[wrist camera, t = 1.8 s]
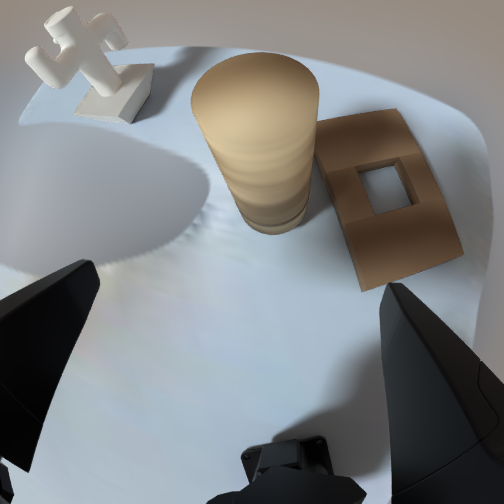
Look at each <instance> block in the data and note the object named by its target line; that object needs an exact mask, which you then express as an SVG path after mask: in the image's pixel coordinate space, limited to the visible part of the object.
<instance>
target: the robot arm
mask: <svg viewBox="0 0 504 504" xmlns="http://www.w3.org/2000/svg"><path fill="white" fill-rule="evenodd" d="M99 287H100V279H99V276H98V274H97V271H96V268H95V265H94V263H93V262H92V261H91V260H85V259H82V260H79V261H77V262H74V263H72V264H70V265H68V266H66V267H64V268H62V269H60V270H58V271H56V272H54V273H52V274H50V275H48V276H46V277H44V278H42V279H40V280H38V281H36V282H34V283H32V284H30V285H28V286H26V287H24V288H22V289H20V290H19V291H17V292H15V293H13V294H11V295H9V296H7V297H5V298H4V299H2V300H0V504H11V501H12V499H13V496H14V493H13V489H12V485H11V481H10V477H9V472H8V468H7V467H6V466H5V465H4V464H3V463H2V462H1V460H2V458H5V459H6V460H8V461H9V462H11V463H12V464H14V465H16V466H17V467H19V468H20V469H22V470H24V471H25V472H27V473H29V471H30V468H31V464H32V461H33V457H34V453H35V450H36V447H37V443H38V440H39V437H40V434H41V431H42V428H43V424H44V421H45V418H46V415H47V412H48V410H49V407H50V404H51V401H52V399H53V396H54V393H55V391H56V388H57V386H58V383H59V381H60V378H61V376H62V373H63V371H64V369H65V366H66V364H67V362H68V359H69V357H70V355H71V353H72V350H73V348H74V346H75V344H76V342H77V340H78V337H79V335H80V333H81V331H82V329H83V327H84V325H85V322H86V320H87V317H88V315H89V312H90V310H91V307H92V304H93V302H94V299H95V297H96V295H97V292H98V290H99ZM379 316H380V331H381V354H382V366H383V373H384V381H385V389H386V398H387V407H388V418H389V430H390V446H391V471H392V495H393V496H392V497H391V504H504V384H503V383H502V382H501V381H500V380H499V379H498V378H497V377H496V375H495V374H494V373H493V372H492V371H491V370H490V369H489V368H488V367H487V366H486V365H485V364H484V363H483V362H482V361H480V359H479V357H478V356H477V355H476V354H475V353H474V352H473V351H472V350H471V349H470V348H469V347H468V346H467V345H466V344H465V343H464V342H463V341H462V340H461V339H460V338H459V337H458V336H457V335H456V334H455V333H454V332H453V331H452V330H451V329H450V328H449V327H448V326H447V325H446V324H445V323H444V322H443V321H442V320H441V319H440V318H439V317H438V316H437V315H436V314H435V313H434V312H433V311H432V310H430V309H429V308H428V307H427V306H426V305H425V304H424V303H423V302H422V301H421V300H420V299H419V298H418V297H417V296H415V295H414V294H413V293H412V292H411V291H410V290H409V289H408V288H407V287H406V286H404V285H403V284H402V283H391V282H390V283H388V284H387V285H386V288H385V291H384V294H383V298H382V301H381V304H380V309H379ZM319 440H321V441H322V443H321V444H317V443H316V442H317V441H319ZM245 455H249V456H250V457H251V458H246V457H245ZM241 460H242V463H243V466H244V469H245V472H246V475H247V478H248V481H249V485H248V486H246V487H245V488H244V489H242V490H241V491H232V492H228V493H224V494H220V495H217V496H216V497H214V498H212V499H211V500H209V501H208V502H207V503H206V504H362V502H363V500H364V499H365V497H366V495H367V493H366V492H365V491H364V490H363V489H362V488H361V487H360V486H359V485H358V484H357V483H356V482H355V481H354V480H353V479H351V478H350V477H343V476H335V475H334V473H333V469H332V464H331V460H330V456H329V451H328V447H327V443H326V439H325V437H323V436H315V437H312V438H308V439H303V440H297V439H293V440H289V441H284V442H279V443H274V444H269V445H264V446H263V448H259V449H253V450H246V451H244V452H243V453H242V455H241Z"/></svg>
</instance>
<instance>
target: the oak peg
mask: <svg viewBox="0 0 504 504" xmlns="http://www.w3.org/2000/svg"><path fill="white" fill-rule="evenodd" d="M318 104H319V86H318V83H317V80H316V78H315V76H314V75H313V74H312V72H311V71H310V70H309V69H308V68H307V67H306V66H304V65H303V64H302V63H300V62H298V61H296V60H294V59H292V58H290V57H287V56H284V55H280V54H275V53H265V52H258V53H247V54H242V55H238V56H235V57H231V58H229V59H226V60H224V61H222V62H220V63H218V64H217V65H215V66H213V67H212V68H211V69H209V70H208V71H207V72H206V73H205V74H204V75H203V76H202V77H201V78H200V79H199V80H198V82H197V84H196V85H195V87H194V89H193V92H192V96H191V109H192V113H193V115H194V117H195V119H196V121H197V123H198V125H199V127H200V129H201V132H202V134H203V136H204V138H205V140H206V142H207V144H208V146H209V148H210V150H211V152H212V154H213V156H214V159H215V161H216V163H217V165H218V167H219V169H220V171H221V173H222V175H223V177H224V179H225V181H226V184H227V186H228V188H229V190H230V192H231V194H232V196H233V198H234V200H235V203H236V205H237V207H238V209H239V211H240V213H241V215H242V217H243V219H244V220H245V222H246V223H247V224H248V225H249V226H250V227H251V228H252V229H254V230H256V231H258V232H260V233H263V234H268V235H278V234H283V233H286V232H288V231H290V230H292V229H293V228H295V227H296V226H297V225H298V224H299V223H300V222H301V221H302V219H303V218H304V216H305V213H306V210H307V204H308V198H309V188H310V180H311V172H312V163H313V154H314V145H315V136H316V125H317V115H318Z"/></svg>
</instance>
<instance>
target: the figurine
mask: <svg viewBox="0 0 504 504" xmlns="http://www.w3.org/2000/svg"><path fill="white" fill-rule="evenodd" d="M44 26H45V28H46V29H47V31H48V32H49V33H50V35H51V36H52V37H54V39H53V41H54V43H56V44H58V43H59V44H60V46H61V52H60V54H59V55H58V56H57V57H56V58H55V59H53V58H52V57H51V56H50V55H49V54H48V52H47V51H46V50H45V49H44V48H43V47H41V46H35V47H33V48H32V49H30V50H29V51H28V52H27V54H26V55H25V61H26V63H27V64H28V65H29V66H30V67H31V68H32V69H33V70H34V71H35V73H36V74H37V75H38V76H39V77H40V78H41V79H42V80H43V81H44V82H45V83H46V84H48V85H49V86H50V87H52V88H54V89H61V88H64V87H65V86H66V85H67V84H68V83H69V82H70V80H71V79H72V78H73V76H74V75H75V74H76V73H77V71H78V70H79V69H80V71H81V72H82V73H83V74H84V76H85V77H86V78H87V79H88V81H89V82H90V83H91V84H92V87H91V88H90V90H89V91H88V92H87V94H86V95H85V97H84V98H83V99H82V101H81V102H80V104H79V105H78V107H77V108H76V110H75V111H74V113H73V115H77V116H82V117H86V118H90V119H94V120H98V121H103V122H112V123H123V124H131V123H132V121H133V120H134V118H135V117H136V115H137V113H138V112H139V110H140V109H141V107H142V105H143V104H144V102H145V101H146V99H147V98H148V96H149V95H150V90H151V83H152V77H153V70H154V64H130V65H116V66H112V65H111V64H110V62H109V61H108V59H107V58H106V56H105V55H104V53H103V52H102V50H101V48H100V44H101V43H102V42H103V41H104V40H105V41H106V43H107V44H108V46H109V47H110V48H111V49H112V50H115V51H117V50H121V49H123V48H125V47H126V46H127V45H128V40H127V38H126V36H125V34H124V32H123V31H122V29H121V27H120V26H119V24H118V22H117V21H116V19H115V18H114V17H113V16H112V15H111V14H109V13H106V12H103V13H100V14H98V15H96V16H95V17H94V18H93V19H92V20H91V21H90V22H89V23H88V24H87V25H86V26H84V24H83V23H82V21H81V20H80V17H79V15H78V13H77V11H76V10H75V8H74V6H70V7H67V8H65V9H63V10H61V11H60V12H56V13H55V14H53V15H52V16H51V17H50V18H49V19H48V20H47V21H46V22H45V24H44Z"/></svg>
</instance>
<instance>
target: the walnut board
mask: <svg viewBox="0 0 504 504" xmlns="http://www.w3.org/2000/svg"><path fill="white" fill-rule="evenodd" d="M313 155H314V157H315V160H316V162H317V165H318V167H319V169H320V172H321V174H322V177H323V180H324V182H325V185H326V187H327V190H328V192H329V195H330V198H331V200H332V203H333V206H334V209H335V211H336V214H337V217H338V220H339V223H340V225H341V228H342V231H343V234H344V237H345V240H346V243H347V246H348V249H349V252H350V255H351V258H352V262H353V265H354V268H355V271H356V274H357V278H358V281H359V284H360V288H361V291H362V292H364V291H367V290H370V289H373V288H376V287H379V286H381V285H384V284H387V283H390V282H393V281H396V280H399V279H402V278H404V277H407V276H410V275H413V274H415V273H418V272H421V271H423V270H426V269H429V268H431V267H434V266H437V265H439V264H442V263H444V262H447V261H449V260H452V259H454V258H457V257H459V256H461V255H463V254H464V252H463V249H462V246H461V243H460V240H459V237H458V235H457V232H456V229H455V226H454V224H453V221H452V218H451V216H450V213H449V211H448V208H447V206H446V203H445V201H444V199H443V196H442V194H441V192H440V189H439V187H438V185H437V183H436V181H435V179H434V176H433V174H432V172H431V170H430V168H429V166H428V164H427V162H426V160H425V158H424V156H423V154H422V152H421V150H420V149H419V147H418V145H417V143H416V141H415V139H414V138H413V136H412V134H411V132H410V130H409V129H408V127H407V125H406V124H405V122H404V120H403V119H402V117H401V115H400V114H399V112H398V110H397V109H388V110H380V111H373V112H366V113H360V114H354V115H348V116H343V117H337V118H332V119H327V120H322V121H317V125H316V136H315V145H314V154H313ZM393 165H394V166H395V168H396V170H397V173H398V175H399V177H400V179H401V181H402V183H403V186H404V188H405V190H406V193H407V195H408V197H409V200H410V202H411V204H412V205H411V206H407V207H404V208H400V209H397V210H393V211H389V212H386V213H382V214H379V215H375V214H374V212H373V209H372V206H371V204H370V201H369V199H368V196H367V194H366V191H365V189H364V187H363V184H362V182H361V180H360V177H359V175H358V173H362V172H366V171H371V170H375V169H380V168H384V167H389V166H393Z"/></svg>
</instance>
